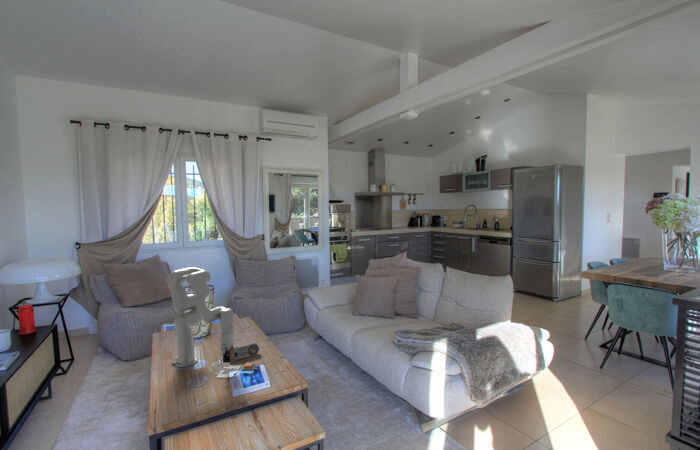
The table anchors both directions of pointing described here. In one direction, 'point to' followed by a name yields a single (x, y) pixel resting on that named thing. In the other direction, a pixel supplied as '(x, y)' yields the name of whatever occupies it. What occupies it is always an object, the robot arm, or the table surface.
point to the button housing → (249, 368)
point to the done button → (248, 365)
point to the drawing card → (227, 371)
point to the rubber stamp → (231, 354)
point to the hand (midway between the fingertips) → (228, 359)
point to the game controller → (245, 350)
